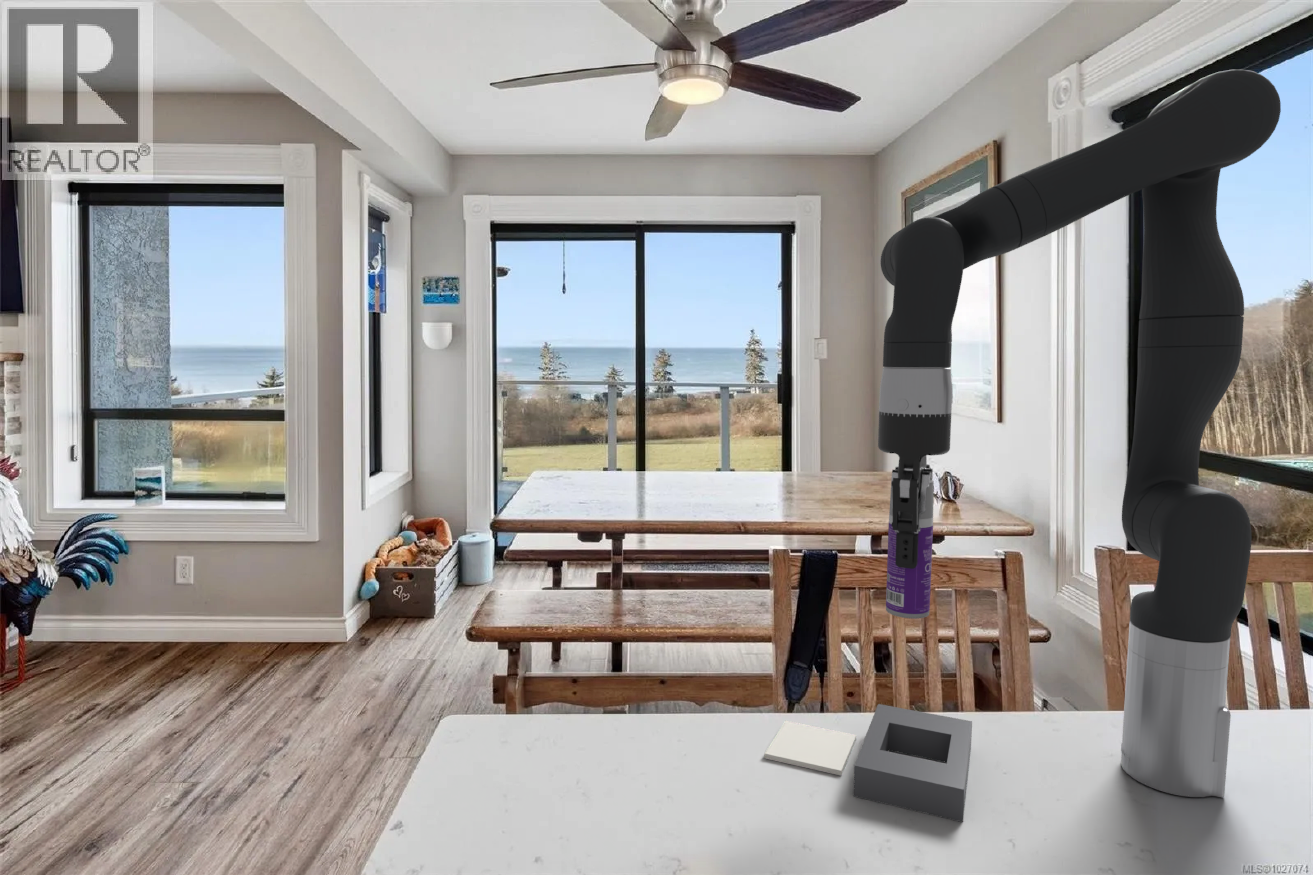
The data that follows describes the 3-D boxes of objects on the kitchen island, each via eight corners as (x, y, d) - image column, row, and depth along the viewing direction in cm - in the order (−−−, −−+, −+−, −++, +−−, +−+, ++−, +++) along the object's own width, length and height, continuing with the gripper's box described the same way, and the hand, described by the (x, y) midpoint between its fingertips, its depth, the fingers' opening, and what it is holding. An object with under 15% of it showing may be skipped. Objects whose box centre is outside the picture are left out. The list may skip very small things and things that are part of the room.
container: (932, 620, 83) (938, 484, 81) (887, 617, 84) (892, 482, 82) (926, 606, 87) (931, 477, 86) (883, 603, 88) (888, 476, 87)
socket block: (970, 748, 92) (972, 721, 91) (962, 822, 77) (964, 789, 77) (877, 730, 96) (878, 703, 96) (853, 796, 82) (854, 765, 82)
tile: (856, 739, 94) (856, 735, 94) (841, 775, 86) (841, 770, 86) (785, 725, 98) (785, 720, 98) (764, 758, 90) (764, 753, 90)
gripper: (946, 414, 75) (939, 582, 77) (955, 406, 88) (949, 550, 90) (868, 412, 78) (863, 573, 80) (888, 404, 91) (884, 543, 93)
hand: (909, 560), depth 85 cm, fingers closed on container, 4 cm apart
